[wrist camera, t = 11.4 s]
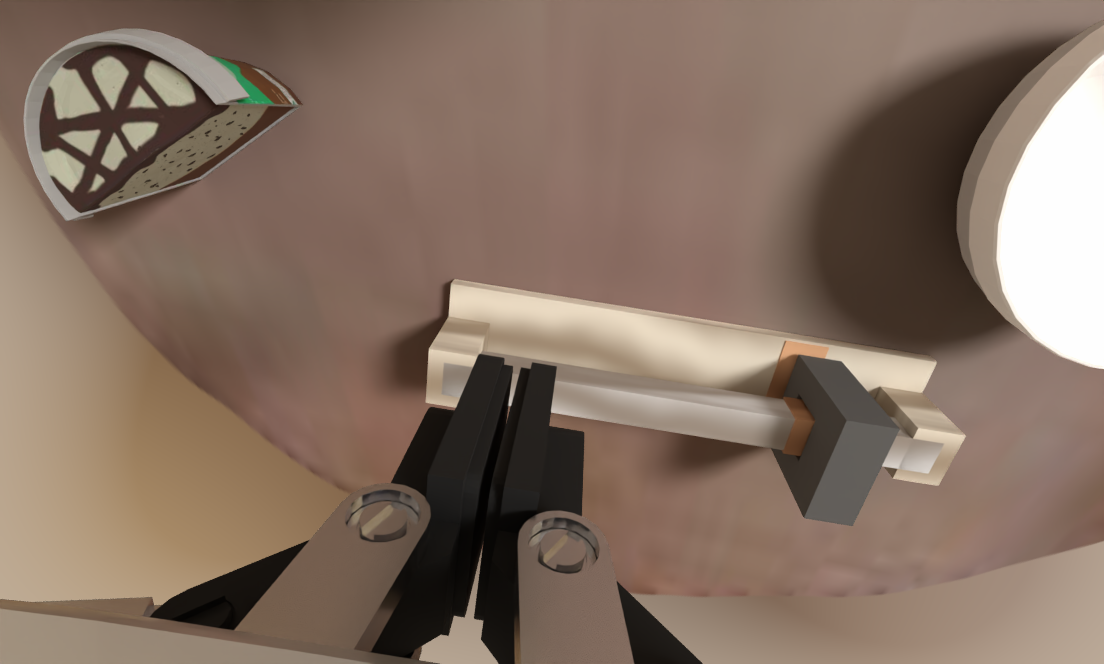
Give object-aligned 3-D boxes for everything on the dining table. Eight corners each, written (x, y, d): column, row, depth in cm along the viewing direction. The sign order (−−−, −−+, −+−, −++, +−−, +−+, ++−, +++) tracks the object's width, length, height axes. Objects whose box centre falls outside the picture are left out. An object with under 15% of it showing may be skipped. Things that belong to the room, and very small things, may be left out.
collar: (798, 354, 39) (846, 420, 31) (841, 361, 39) (899, 429, 31) (766, 439, 42) (803, 518, 34) (806, 445, 42) (852, 526, 34)
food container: (254, -6, 33) (125, -37, 24) (320, 91, 35) (225, 97, 26) (118, 107, 37) (-40, 118, 27) (186, 190, 38) (60, 226, 29)
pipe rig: (454, 279, 40) (430, 313, 34) (929, 355, 40) (986, 403, 34) (446, 387, 44) (423, 435, 38) (879, 457, 43) (923, 516, 38)
